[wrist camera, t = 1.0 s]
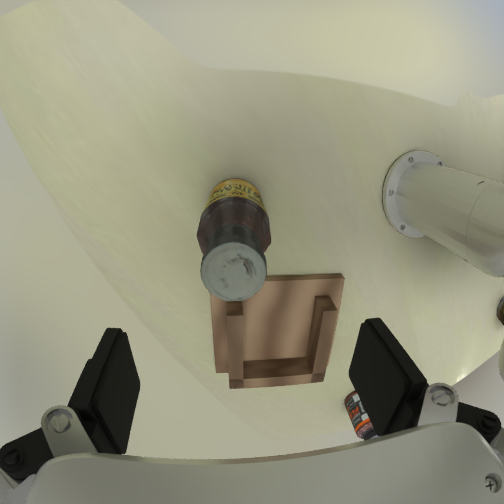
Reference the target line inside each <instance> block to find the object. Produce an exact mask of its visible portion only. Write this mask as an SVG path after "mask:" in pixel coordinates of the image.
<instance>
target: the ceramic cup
mask: <svg viewBox="0 0 504 504" xmlns="http://www.w3.org/2000/svg"><path fill="white" fill-rule="evenodd" d="M497 317H498V318H499V320H500V321H501V322H502V324H503V325H504V297H503V298H502V300H501V302H500V303H499V305H498V307H497Z"/></svg>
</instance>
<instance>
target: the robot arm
mask: <svg viewBox="0 0 504 504" xmlns="http://www.w3.org/2000/svg"><path fill="white" fill-rule="evenodd" d="M388 192H389V193H388ZM383 206H384V211H385V214H386V217H387V219H388V220H389V222H390V224H391V225H392V226H393V227H394V228H395V229H396V230H397V231H399V232H400V233H402V234H403V235H405V236H408V237H412V238H419V237H423V236H428V237H429V238H431V239H432V240H434V241H436V242H437V243H439V244H441V245H442V246H444V247H445V248H447V249H448V250H450V251H452V252H453V253H455V254H456V255H458V256H459V257H461V258H462V259H464V260H465V261H467V262H468V263H470V264H471V265H473V266H475V267H476V268H478V269H479V270H481V271H482V272H484V273H485V274H488V275H490V276H494V277H504V183H501V182H498V181H495V180H492V179H488V178H485V177H482V176H478V175H475V174H471V173H467V172H464V171H460V170H456V169H452V168H448V167H447V166H446V165H445V163H444V162H443V161H442V160H441V159H440V158H439V157H438V156H436V155H435V154H433V153H430V152H427V151H421V150H417V151H411V152H408V153H406V154H404V155H402V156H401V157H400V158H399V159H398V160H397V161H395V163H394V164H393V165H392V167H391V168H390V170H389V172H388V174H387V176H386V179H385V183H384V187H383ZM498 366H499V371H500V375H501V377H502V379H503V381H504V340H503V342H502V345H501V348H500V352H499V359H498ZM349 377H350V380H351V382H352V384H353V386H354V388H355V390H356V392H357V394H358V396H359V398H360V400H361V402H362V405H363V407H364V409H365V411H366V413H367V415H368V417H369V419H370V421H371V423H372V426H373V428H374V430H375V432H376V434H377V435H378V436H380V437H376V438H372V439H368V440H364V441H360V442H356V443H351V444H347V445H342V446H338V447H332V448H326V449H321V450H314V451H309V452H302V453H294V454H287V455H278V456H268V457H256V458H242V459H208V460H207V459H203V460H202V459H196V460H195V459H169V458H152V457H140V456H129V455H122V454H125V453H126V449H127V445H128V440H129V435H130V430H131V426H132V421H133V416H134V412H135V408H136V403H137V399H138V395H139V391H140V380H139V376H138V373H137V370H136V366H135V363H134V359H133V355H132V352H131V348H130V344H129V340H128V336H127V333H126V332H123V331H122V329H121V328H107V329H106V331H105V332H104V335H103V336H102V339H101V341H100V343H99V345H98V347H97V349H96V351H95V353H94V355H93V357H92V359H89V360H88V361H87V363H86V365H85V367H84V369H83V371H82V374H81V376H80V378H79V380H78V382H77V385H76V387H75V389H74V392H73V394H72V396H71V398H70V401H69V403H68V406H61V405H59V406H55V407H52V408H50V409H48V410H47V411H46V412H45V413H44V414H43V416H42V419H41V428H39V429H37V430H35V431H33V432H31V433H29V434H26V435H24V436H22V437H20V438H18V439H16V440H13V441H11V442H9V443H7V444H5V445H4V446H2V448H1V449H0V504H504V428H502V427H501V422H500V420H499V418H498V417H497V415H495V414H494V413H492V412H490V411H487V410H484V409H480V408H477V407H474V406H471V405H468V404H464V403H461V402H458V394H457V392H456V391H455V390H454V388H452V387H451V386H449V385H447V384H445V383H434V384H432V385H430V386H429V385H428V383H427V380H426V378H425V377H424V375H423V374H422V373H421V371H420V370H419V369H418V367H417V366H416V365H415V363H414V362H413V360H412V359H411V358H410V356H409V355H408V354H407V352H406V351H405V350H404V348H403V347H402V346H401V344H400V343H399V342H398V340H397V339H396V338H395V337H394V335H393V334H392V333H391V331H390V330H389V329H388V327H387V326H386V325H385V324H384V322H383V321H382V320H381V319H380V318H371V319H366V320H365V322H364V323H362V324H361V327H360V331H359V335H358V339H357V343H356V347H355V350H354V354H353V358H352V361H351V365H350V369H349Z"/></svg>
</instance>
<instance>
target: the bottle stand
mask: <svg viewBox="0 0 504 504" xmlns="http://www.w3.org/2000/svg"><path fill="white" fill-rule="evenodd" d="M344 279H345V278H344V277H343V276H342V274H317V275H287V276H266V280H265V282H264V284H263V286H262V287H261V289H260V290H259V291H258V292H257V293H255V294H254V295H253V296H252V297H250V298H248V299H246V300H243V301H225V300H222V299H220V298H218V297H215V296H214V295H213V294H211V307H212V324H213V339H214V353H215V366H216V373H229V387H230V389H236V388H258V387H274V386H286V385H297V384H307V383H315V382H323V380H324V376H325V372H326V367H327V366H328V363H329V358H330V354H331V349H332V344H333V340H334V335H335V330H336V325H337V319H338V314H339V309H340V303H341V297H342V291H343V285H344Z"/></svg>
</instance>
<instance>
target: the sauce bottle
mask: <svg viewBox="0 0 504 504" xmlns="http://www.w3.org/2000/svg"><path fill="white" fill-rule="evenodd" d="M197 239H198V242H199V246H200V248H201V251H202V253H203V254H204V255H203V258H202V263H201V278H202V281H203V283H204V285H205V287H206V288H207V289H208V290H209V292H210V293H211V294H213V295H214V296H215V297H218V298H220V299H222V300H225V301H243V300H246V299H248V298H250V297H252V296H253V295H254V294H255V293H257V292H258V291H259V290H260V289H261V287H262V286H263V284H264V282H265V280H266V275H267V270H266V269H267V266H266V258H265V255H264V252H265V251H266V250H267V248H268V246H269V245H270V244H271V234H270V226H269V218H268V215H267V212H266V209H265V207H264V204H263V201H262V199H261V196H260V194H259V192H258V190H257V189H256V188H255V187H254V186H253V185H252V184H250V183H248V182H247V181H244V180H240V179H229V180H225V181H223V182H221V183H220V184H218V185H217V186H216V187H215V188H214V189H213V191H212V192H211V194H210V196H209V199H208V201H207V203H206V206H205V208H204V211H203V213H202V215H201V219H200V223H199V227H198V231H197Z"/></svg>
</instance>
